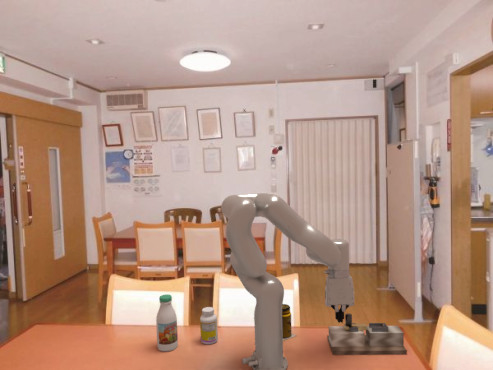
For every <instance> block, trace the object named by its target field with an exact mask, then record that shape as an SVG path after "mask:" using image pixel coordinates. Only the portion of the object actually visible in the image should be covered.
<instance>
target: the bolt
mask: <svg viewBox="0 0 493 370" xmlns="http://www.w3.org/2000/svg"><path fill="white" fill-rule="evenodd" d="M344 322H345V323H344V324H343V326H344V329H345V330H350V327H358V330H363V331H366V330H367V326H368V325H367V324H366V323H356V324H352V323H353V315H352V313H344Z"/></svg>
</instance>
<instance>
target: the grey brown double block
mask: <svg viewBox="0 0 493 370" xmlns="http://www.w3.org/2000/svg"><path fill="white" fill-rule="evenodd" d="M387 326H388V332H387V331H386V332H372V328H369V325H367V330H358V332H350V330H345V329H344V325H331V326H329V325H328V335H327V337H326V338H327V342H328V345H329V347H330V351H331V353H332V355H333V356H351V355H352V356H356V355H357V356H359V355H360V356H361V355H363V356H364V355H365V356H366V355H367V356H369V355H370V356H373V355H377V356H379V355H382V356H383V355H407V354H408V352H407V349H406V347H405V345H404V341H405V340H404V339H405V338H404V337H405V335H404V331H403V330H402V329H401V328H400V326H399V325H387ZM364 331H365V332H364Z"/></svg>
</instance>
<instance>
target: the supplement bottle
mask: <svg viewBox="0 0 493 370" xmlns="http://www.w3.org/2000/svg"><path fill="white" fill-rule="evenodd" d="M201 312H202V313H201V316H200V318H199V325H200V342H201V343H202V344H204V345H213V344H216V343H217V342H218V339H219V335H218V334H219V333H218V317H217V315H216V313H215V308H214V307H212V306H207V307H203V308H202V310H201Z"/></svg>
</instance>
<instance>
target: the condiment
mask: <svg viewBox="0 0 493 370" xmlns="http://www.w3.org/2000/svg"><path fill="white" fill-rule="evenodd" d="M282 330H283V341H285V340H288V339H292V338H294V337H296V336H297V335H296V334H294V333H292V312H291V306H290V305H289V304H287V303H286V304H285V303H283V304H282Z"/></svg>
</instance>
